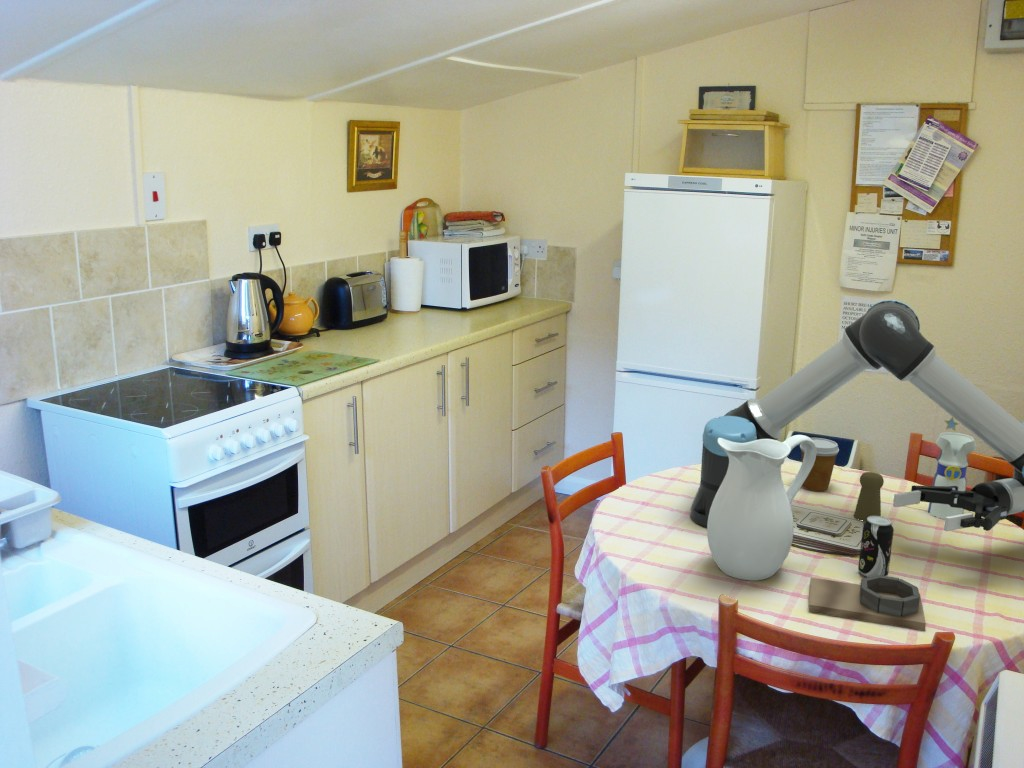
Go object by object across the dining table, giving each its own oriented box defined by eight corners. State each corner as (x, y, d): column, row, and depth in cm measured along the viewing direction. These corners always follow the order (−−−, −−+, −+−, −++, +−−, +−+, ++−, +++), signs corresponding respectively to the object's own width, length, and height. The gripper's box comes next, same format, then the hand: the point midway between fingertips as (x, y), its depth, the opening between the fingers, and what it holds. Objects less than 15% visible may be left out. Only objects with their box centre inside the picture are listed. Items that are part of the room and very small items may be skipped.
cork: (876, 513, 218) (882, 469, 216) (884, 523, 213) (889, 478, 210) (850, 512, 219) (855, 468, 216) (857, 522, 213) (862, 477, 210)
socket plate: (808, 611, 171) (810, 589, 170) (810, 584, 182) (812, 563, 181) (924, 630, 165) (927, 607, 163) (919, 600, 176) (921, 579, 174)
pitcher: (737, 594, 177) (749, 457, 170) (688, 559, 192) (696, 432, 185) (833, 573, 187) (848, 443, 180) (779, 541, 202) (790, 420, 195)
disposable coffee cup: (834, 483, 238) (839, 439, 235) (834, 496, 229) (839, 450, 226) (796, 478, 241) (800, 435, 238) (795, 491, 232) (799, 446, 229)
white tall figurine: (968, 523, 213) (983, 420, 207) (928, 517, 216) (941, 416, 210) (964, 510, 221) (978, 411, 215) (925, 505, 224) (939, 407, 217)
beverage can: (885, 583, 183) (892, 527, 180) (855, 576, 185) (861, 521, 182) (889, 572, 187) (896, 518, 184) (860, 566, 190) (866, 512, 187)
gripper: (1047, 537, 184) (967, 553, 176) (948, 495, 206) (874, 508, 199) (1052, 502, 182) (971, 516, 174) (952, 463, 204) (877, 475, 197)
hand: (919, 512), depth 187 cm, fingers open, 13 cm apart
